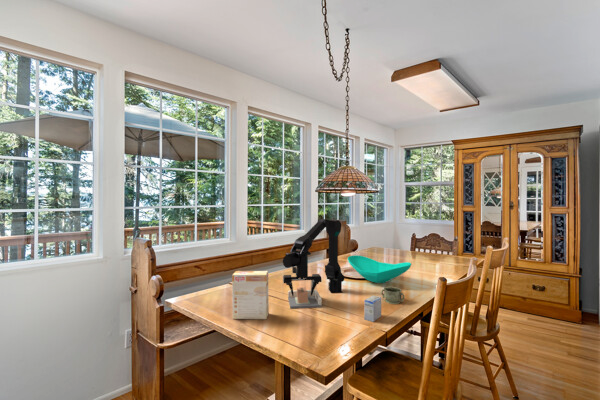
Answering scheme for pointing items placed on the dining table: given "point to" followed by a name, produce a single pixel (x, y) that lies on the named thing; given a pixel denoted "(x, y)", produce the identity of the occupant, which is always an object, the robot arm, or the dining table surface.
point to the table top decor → (377, 268)
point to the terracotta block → (302, 295)
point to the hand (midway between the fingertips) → (302, 295)
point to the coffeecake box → (250, 295)
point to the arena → (312, 303)
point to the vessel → (392, 295)
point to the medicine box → (372, 308)
